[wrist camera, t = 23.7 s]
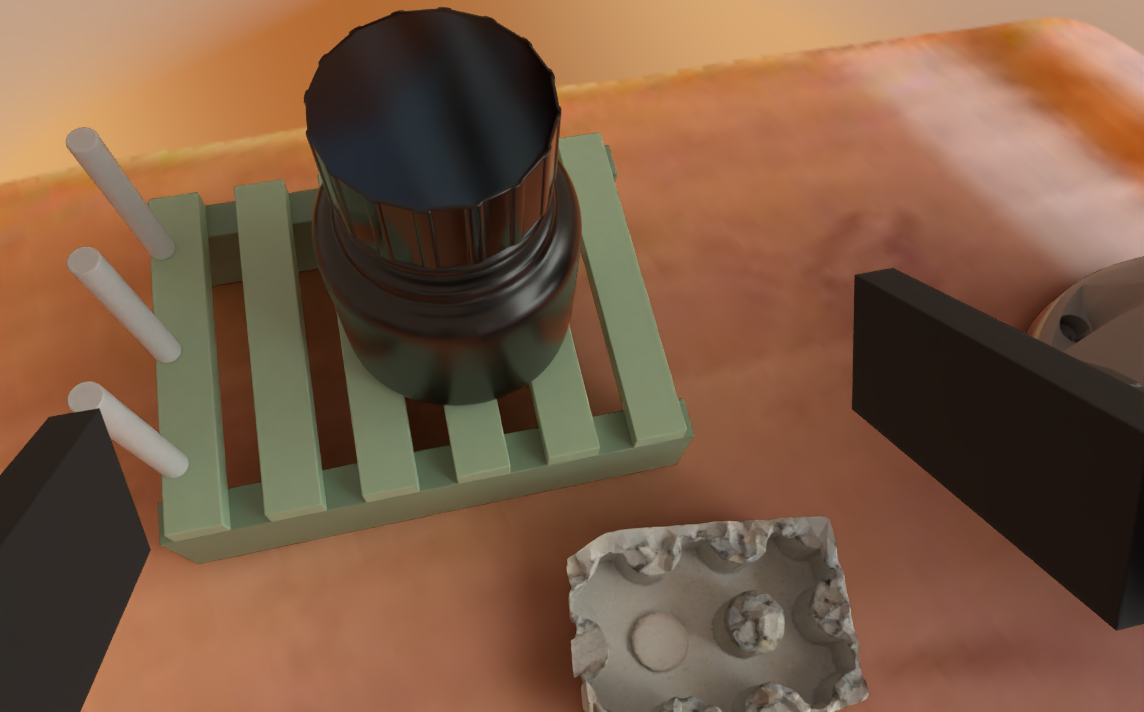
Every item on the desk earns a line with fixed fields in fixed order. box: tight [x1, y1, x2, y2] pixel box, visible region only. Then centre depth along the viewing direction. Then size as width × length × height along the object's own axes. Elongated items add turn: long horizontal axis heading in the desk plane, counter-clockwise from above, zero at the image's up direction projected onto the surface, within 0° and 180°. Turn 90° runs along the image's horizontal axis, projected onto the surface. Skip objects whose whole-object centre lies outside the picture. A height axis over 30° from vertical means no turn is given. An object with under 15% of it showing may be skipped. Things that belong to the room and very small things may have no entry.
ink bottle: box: [304, 7, 582, 406], centre depth 28 cm, size 10×9×12 cm
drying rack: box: [66, 127, 694, 564], centre depth 33 cm, size 20×14×12 cm
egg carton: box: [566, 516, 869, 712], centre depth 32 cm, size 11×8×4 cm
